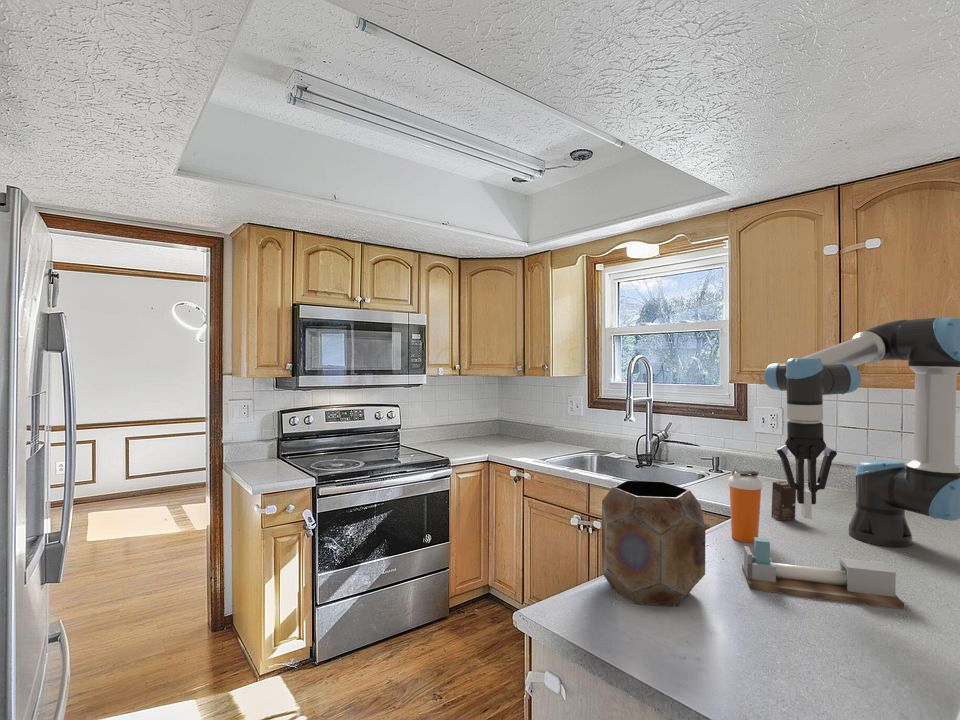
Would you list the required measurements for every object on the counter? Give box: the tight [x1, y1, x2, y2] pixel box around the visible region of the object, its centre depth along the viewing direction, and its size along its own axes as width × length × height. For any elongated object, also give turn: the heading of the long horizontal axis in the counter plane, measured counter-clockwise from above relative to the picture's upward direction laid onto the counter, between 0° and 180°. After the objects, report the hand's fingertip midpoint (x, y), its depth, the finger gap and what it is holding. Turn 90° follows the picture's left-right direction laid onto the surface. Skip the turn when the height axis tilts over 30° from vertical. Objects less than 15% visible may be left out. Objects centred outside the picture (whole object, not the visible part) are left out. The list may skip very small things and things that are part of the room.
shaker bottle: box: [728, 469, 763, 543], centre depth 157 cm, size 9×9×20 cm
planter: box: [601, 480, 706, 607], centre depth 123 cm, size 22×24×24 cm
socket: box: [743, 545, 776, 582], centre depth 128 cm, size 6×6×6 cm
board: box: [741, 564, 905, 610], centre depth 124 cm, size 30×12×1 cm, turn 71°
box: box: [771, 480, 797, 521], centre depth 176 cm, size 6×4×12 cm
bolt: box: [753, 536, 847, 586], centre depth 125 cm, size 20×3×9 cm, turn 71°
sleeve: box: [839, 557, 897, 597], centre depth 121 cm, size 9×6×5 cm, turn 71°
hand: (806, 516), depth 129 cm, fingers closed
